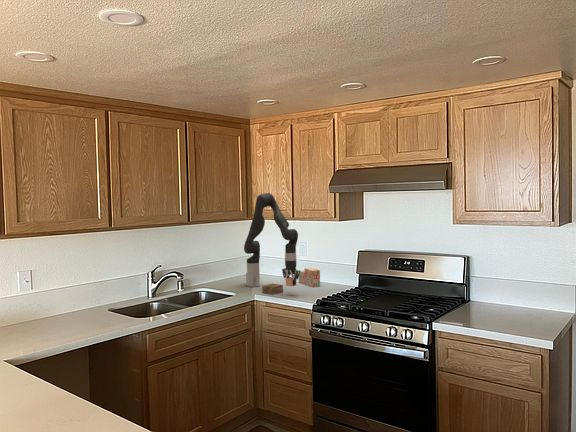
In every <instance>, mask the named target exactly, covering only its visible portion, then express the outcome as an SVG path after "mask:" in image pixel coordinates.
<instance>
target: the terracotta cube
mask: <svg viewBox="0 0 576 432" xmlns="http://www.w3.org/2000/svg"><path fill="white" fill-rule="evenodd" d="M296 286H297V284H296V285H294V286H293V278H292V276H290V277H289V278H285V287H296Z"/></svg>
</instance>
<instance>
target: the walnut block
mask: <svg viewBox="0 0 576 432" xmlns="http://www.w3.org/2000/svg"><path fill="white" fill-rule="evenodd" d="M261 288H262V289H261V291H262V294H267V295H271V296H272V295H273V296H274V295H278V294H282V293H283V292H284V285H283V284H278V283H268V284H263V285H261Z"/></svg>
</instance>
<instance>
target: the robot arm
mask: <svg viewBox="0 0 576 432" xmlns="http://www.w3.org/2000/svg"><path fill="white" fill-rule="evenodd" d="M267 207H270V208H271V209H272V213H273V220H274V222H275V224H276V225H277V227H278V228H279V231H280V233H281V236H282V238H283V239H284V240H285V241H288V243H286V244H285V245H284V247H285V248H284V249H285V250H284V266H285V268H282V269H281V271H282V276H283V278H284V279H286V278H289V277H292V278H293V286H292V287H295V286H294V285H296V286H297V280H299V273H300V271H301V270H300V269H299V270H298V269H297V245H298V244H297V243H298V237H299V233H298V231H297V229H296V228H290V229H289V227H290V223H289V221H288V220H287V219H286V217H285V215H284V214H283V213H282V211H281V209H280V206H279V205H278V203H277V201H276V199H275V196H274V195H273V194H272V193H269V192H266V193H260V194H259V195H257V197H256V201H255V206H254V212H253V216H252V219H251V223H250V227H249V231H248V234H247V237H246V239H245V242H244V244H243V251H244V253H245V254H247V255H249V254H250V255H251V254H252V255H251V256H250V257H248V258H247V259H246V273H245V286H247V287H249V288H255V287H256V286H258V287H260V285H261V282H260V281H261V280H260V279H261V278H260V276H261V275H260V258H261V257H260V256H261V250H260V249H261V246H260V245H261V244H260V242H259V240H255V239H256V238H257V237H258V236H259V235H261V233H262V232H263V230H264V227H265V223H266V220H265V217H264V214H263V211H264V209H265V208H267Z"/></svg>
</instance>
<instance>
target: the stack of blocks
mask: <svg viewBox="0 0 576 432" xmlns="http://www.w3.org/2000/svg"><path fill="white" fill-rule="evenodd" d="M298 283H299V284H301V285H305V286H308V287H311V288H318V287H319V288H320V287H321V270H320V269H318V268H314V267H307V268H306V267H305V268H304V270H300V273H299V279H298Z"/></svg>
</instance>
